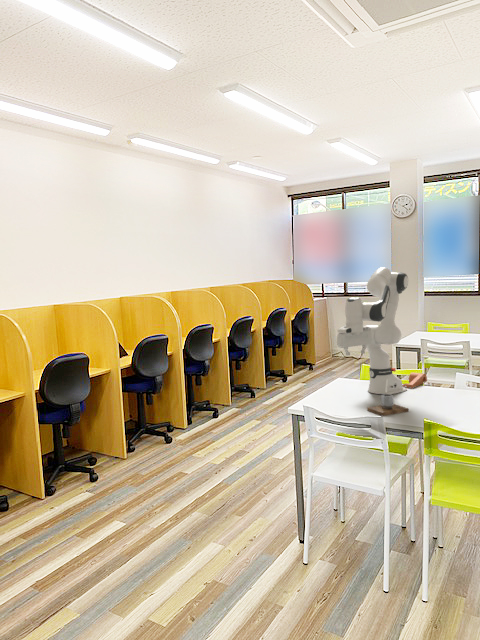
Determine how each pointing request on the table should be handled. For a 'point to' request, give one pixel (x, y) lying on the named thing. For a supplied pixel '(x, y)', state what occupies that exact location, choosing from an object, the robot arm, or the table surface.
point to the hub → (387, 400)
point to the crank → (416, 379)
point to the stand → (387, 409)
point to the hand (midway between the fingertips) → (355, 354)
